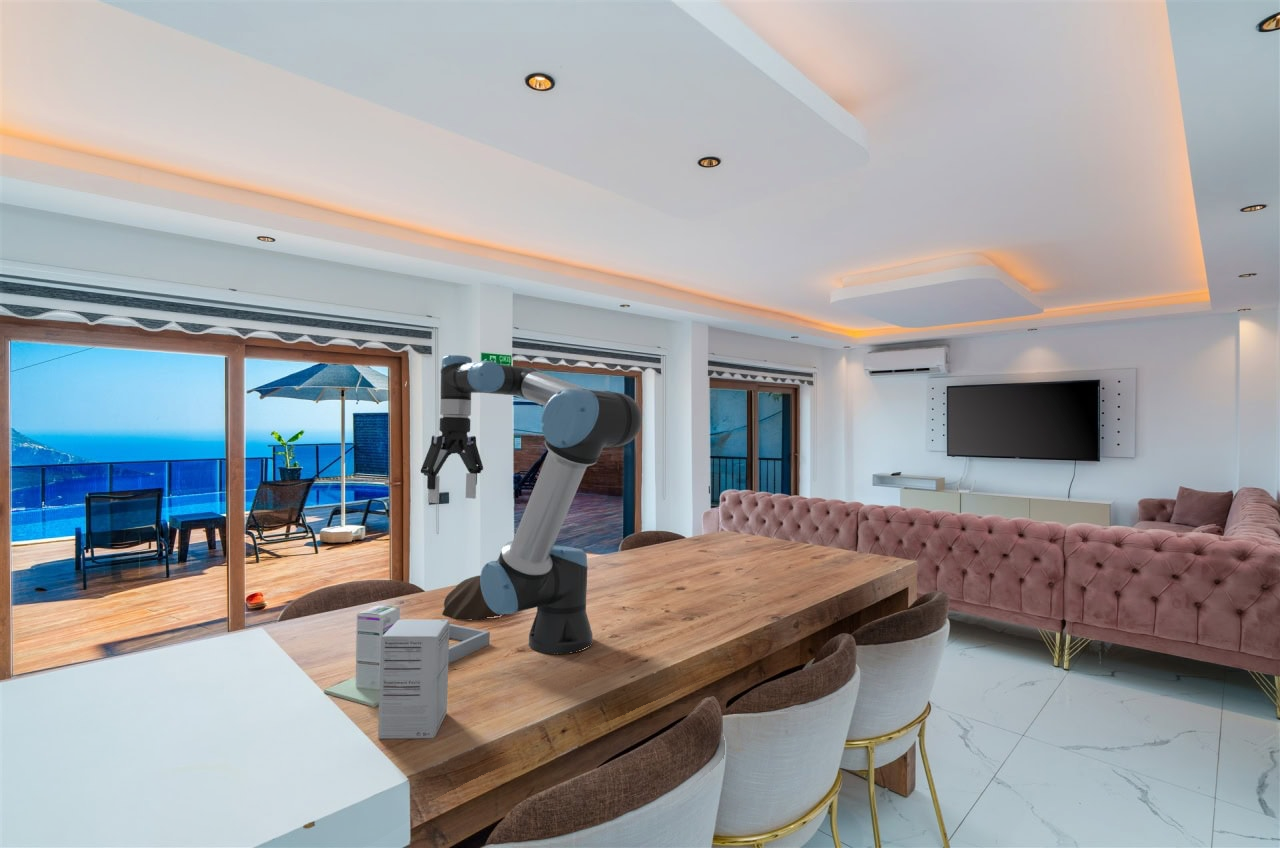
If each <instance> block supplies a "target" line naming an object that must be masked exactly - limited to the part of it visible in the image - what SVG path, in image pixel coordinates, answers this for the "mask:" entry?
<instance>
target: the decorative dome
mask: <svg viewBox="0 0 1280 848" xmlns="http://www.w3.org/2000/svg"><path fill="white" fill-rule="evenodd" d="M480 576H481V574H480V575H476V576H472V577H469V578H466V579H464V580H463V581H461V582H459V583H458V584H457V585H456V586H455V588H452V590H451V591H450V592H449V593H448V594H447V595H446V597H445V598H444V601H443V608H444V609H443V611H442V615H443V616H447V617H450V618H451V617H452V618H453V619H452V618H451V619H452V620H454V619H463V620H466V619H472V620H479V621H481V620H480V619H483V620H485V619H484V618H487V617H494V616H500V614H497V613H495V612H493V611H492V610H491V609H490V608H489V607H488V605H487V604H486V602H485V600H484V597H483V595H482V590H481V585H480ZM472 620H471V621H472Z"/></svg>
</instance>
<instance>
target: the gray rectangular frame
mask: <svg viewBox="0 0 1280 848" xmlns="http://www.w3.org/2000/svg"><path fill="white" fill-rule="evenodd" d="M490 633H491V632H490V631H489V630H484V629H479V628H478V629H477V628H473V627H468V626H463V625H459V624H458V625H457V624H452V623H450V628H449V639H452V640H458V641H460V642H458V643H455V644H453V645H451V646H450V645H449V655H448V664H450V663H452V662H454V661H457V660H459V659H461V658H464V657H465V656H467V655H469V654H472V653H474V652H476V651H477V650H480V649H482V648H484V647H486V646H489V645H490V641H491V640H490V636H491V635H490Z"/></svg>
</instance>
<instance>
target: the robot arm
mask: <svg viewBox="0 0 1280 848" xmlns="http://www.w3.org/2000/svg"><path fill="white" fill-rule="evenodd" d="M475 393H476V394H477V393H480V394H481V393H482V394H494V395H503V396H504V395H507V396H517V397H520V398H522V399H525V400H528V401H530V402H534V403H536V404H538V405H541V406H543V407H544V409H543V411H542V414H541V420H540V421H541V423H542V424H543V425H542V426H541V431H542V435H543V437H544V439H545V440H544V445H545V448H546V449H547V451H548V452H547V454H546V457H545V458H544V459H545V460H544V461H543V465H542V467H541V468H540V472H539V474H538V477H537V480H536V481H535V485H534V487H533V489H532V492H531V494H530V497H529V499H528V502H527V504H526V507H525V509H524V512H523V514H522V517H521V520H520V522H519V524H518V526H517V530H516V532H515V535H514V538H513V539H512V541H508V542H506V544H504V545H503V547H501V548H502V549H501V551H500V554H499V556H498V559H497V560H491V561H489V562H487V563H485V564H484V566H483V567H482V568H481V572H480V575H481V576H480V575H479V576H480V585H481V590H482V595H483V597H484V600H485V602H486V604H487V605H488V607H489V608H490V609H491V610H492V611H493V612H495V613H497V614H500V615H503V616H504V614H505V615H509V614H511V615H514V614H516V613H519V612H523V611H527V610H530V609H534V608H536V609H537V611H536V614H535V617H534V619H533V623H532V626H531V628H530V632H529V633H528V634H529V635H528V646H529V648H531V649H532V650H534V651H536V652H539V653H545V654H549V653H551V654H552V655H561V654H560V653H568V654H571V653H570V652H575V653H577V652H576V651H579V650H582V649H584V648H586V647H588V646H590V645H591V643H592V644H593V635H594V634H593V630H592V628H591V623H590V619H589V617H588V613H587V592H588V591H587V590H588V589H587V588H588V587H587V586H588V569H589V566H588V556H587V553H586V551H585V550H583V549H582V548H577V547H571V546H565V545H555V543H556V540H557V539H558V536H559V534H560V531H561V529H562V526H563V524H564V523H565V519H566V518H567V515H568V513H569V509H571V508H570V507H571V505H572V503H573V500H574V499H575V496H576V493H577V491H578V489H579V486H580V484H581V482H582V480H583V478H584V474H585V473H586V470H587V467H590V466H593V465H595V464H597V462H598V460H599V458H600V455H601V453H602V451H603V449H604V448H615V447H621V446H624V445H627V444H629V443H631V442H632V441H633V440H634V439H635V438H636V437H637V435H638V434H639V433H640V430H641V428H642V424H643V423H642V422H643V415H642V412H641V408H640V406H639V404H638V403H637V402H636V401H635V400H634V399H633V398H632V397H631V396H630V395H628V394H624V393H621V392H614V391H609V390H602V391H601V390H594V389H593V390H592V389H591V388H587V387H583V386H581V385H578V384H575V383H572V382H569V381H567V380H563V379H560V378H557V377H555V376H552V375H549V374H546V373H543V372H542V371H541V370H540V369H539V368H538V369H537V368H534V367H530V366H526V367H523V366H517V365H516V366H515V365H507V364H500V363H497V362H496V361H492V360H480V361H473V359H472V357H470V356H467V355H461V354H459V355H456V354H453V355H449V354H448V355H445V356H443V357H442V359H441V367H440V402H439V403H440V407H439V409H440V411H439V415H440V416H442V417H440V418H439V432H441V435H433V434H432V436H431V440H430V445H429V448H428V451H427V453H426V456H425V459H424V461H423V464H422V465H421V469H420V473H421V474H423V475H424V476H425V477H426V476H427V481H426V482H427V485H426V486H427V489H428V496H427V502H428V503H430V504H431V503H432V504H439V502H440V501H439V500H440V477H441V476H439V475H438V474H439V473H440V470H441V469H442V467H443V466H444V465H445V462H446V461H447V459H448V458H449V456H450V455H453V454H457V455H459V457H460V458H461V461H462V462H463V464H464V465H465V468H466V470H467V471H468V473H467V472H466V473H465V474H466V476H465V499H476V498H477V496H476V495H477V483H478V474H481V473H482V471H483V470H484V465H483V462H482V460H481V456H480V453H479V452H480V451H479V449H478V446H477V437H476V435H468V433H470V432H471V419H470V418H469V417H470V416H471V415H472V394H475ZM591 646H592V645H591ZM591 646H590V647H591ZM554 653H555V654H554ZM557 653H558V654H557ZM551 654H550V655H551Z"/></svg>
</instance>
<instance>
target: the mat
mask: <svg viewBox="0 0 1280 848" xmlns="http://www.w3.org/2000/svg"><path fill="white" fill-rule="evenodd" d="M379 692H380V691H378V690H369V689H362V688H358V687H356V676H353V677H352V678H350V679H347V680H345V681H343V682H342V681H341V682H340V683H337V684H335V685H332V686H330V687H327V688H326V689H324V692H323V693H324V694H327V695H330V696H333V697H337V698H339V699H340V698H341V699H343V700H344V699H345V700H348V701H352V702H355V703H359V704H363V705H367V706H368V707H373V708H376V707H378V706H379Z"/></svg>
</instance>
